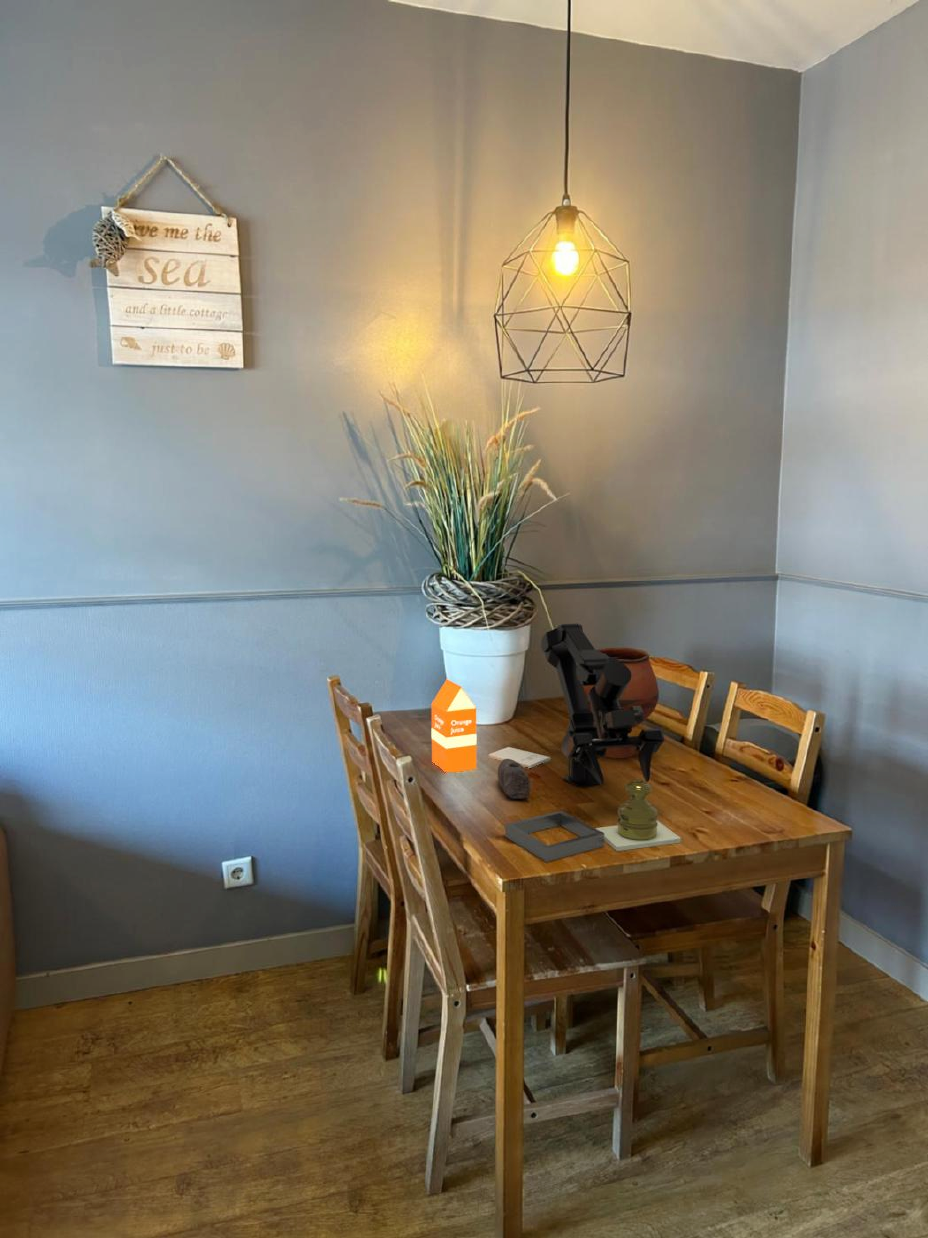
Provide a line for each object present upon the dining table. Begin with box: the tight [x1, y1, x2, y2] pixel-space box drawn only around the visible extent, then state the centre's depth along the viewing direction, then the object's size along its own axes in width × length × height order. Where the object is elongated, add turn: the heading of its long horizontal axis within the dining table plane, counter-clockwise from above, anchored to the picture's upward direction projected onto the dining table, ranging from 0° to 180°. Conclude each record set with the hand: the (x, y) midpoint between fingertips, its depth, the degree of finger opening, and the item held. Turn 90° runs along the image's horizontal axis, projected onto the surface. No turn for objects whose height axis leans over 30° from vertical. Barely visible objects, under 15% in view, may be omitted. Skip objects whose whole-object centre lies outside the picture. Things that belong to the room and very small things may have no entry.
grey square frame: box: [504, 810, 605, 863], centre depth 163 cm, size 13×13×2 cm
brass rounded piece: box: [616, 779, 659, 840], centre depth 164 cm, size 7×7×10 cm
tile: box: [594, 820, 682, 852], centre depth 165 cm, size 13×9×1 cm
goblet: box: [583, 647, 660, 759], centre depth 213 cm, size 19×19×25 cm
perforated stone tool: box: [497, 759, 531, 800], centre depth 189 cm, size 15×5×7 cm, turn 10°
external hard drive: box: [488, 746, 551, 769], centre depth 211 cm, size 2×8×12 cm
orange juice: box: [430, 678, 477, 774], centre depth 204 cm, size 8×9×20 cm
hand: (625, 782), depth 170 cm, fingers open, 9 cm apart
